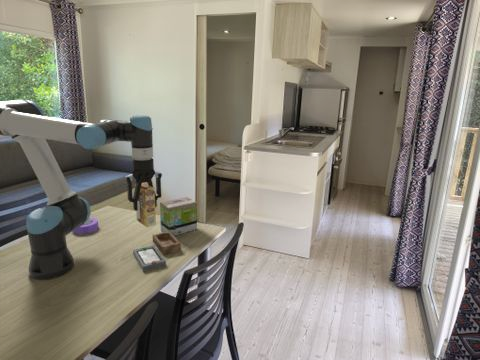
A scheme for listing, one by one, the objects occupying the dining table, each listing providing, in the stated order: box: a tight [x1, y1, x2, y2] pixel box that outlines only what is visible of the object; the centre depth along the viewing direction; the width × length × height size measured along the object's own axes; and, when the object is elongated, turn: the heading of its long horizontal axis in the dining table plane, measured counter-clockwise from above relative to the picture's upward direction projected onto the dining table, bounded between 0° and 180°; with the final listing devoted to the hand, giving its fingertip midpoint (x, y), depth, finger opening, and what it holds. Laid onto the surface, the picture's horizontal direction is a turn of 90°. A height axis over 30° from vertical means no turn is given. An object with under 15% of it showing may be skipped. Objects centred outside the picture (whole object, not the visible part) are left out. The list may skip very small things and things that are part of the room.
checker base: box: [132, 244, 167, 272], centre depth 135 cm, size 9×15×3 cm, turn 31°
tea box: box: [159, 196, 198, 237], centre depth 161 cm, size 15×10×15 cm
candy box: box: [134, 182, 157, 228], centre depth 129 cm, size 9×4×15 cm, turn 43°
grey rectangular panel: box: [138, 249, 160, 264], centre depth 135 cm, size 6×11×1 cm, turn 31°
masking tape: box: [71, 217, 99, 235], centre depth 161 cm, size 12×12×4 cm
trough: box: [152, 231, 182, 256], centre depth 146 cm, size 8×14×4 cm, turn 31°
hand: (145, 216), depth 130 cm, fingers closed on candy box, 5 cm apart
